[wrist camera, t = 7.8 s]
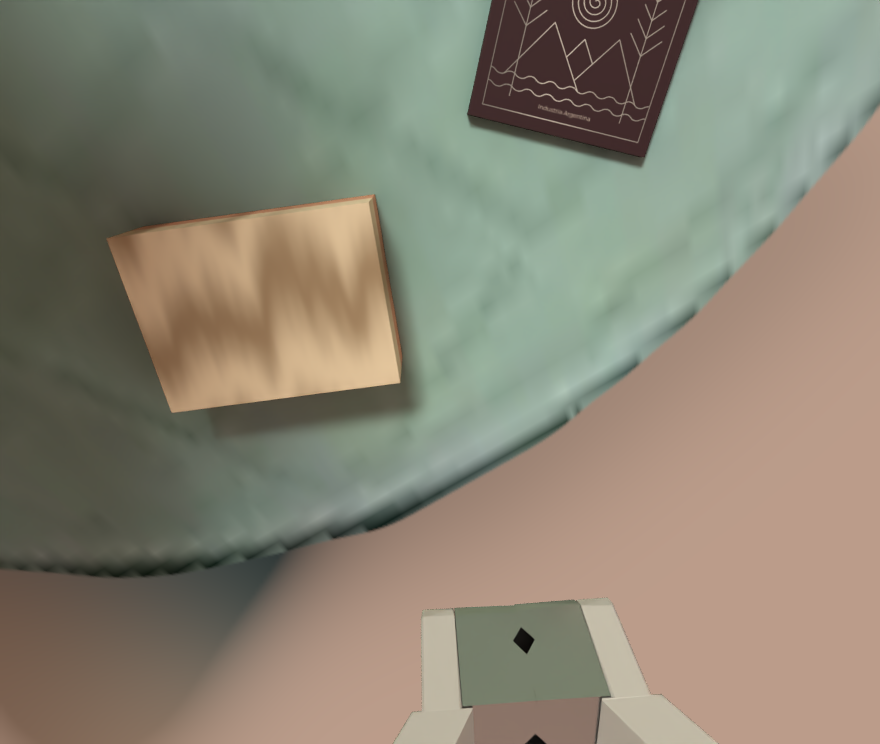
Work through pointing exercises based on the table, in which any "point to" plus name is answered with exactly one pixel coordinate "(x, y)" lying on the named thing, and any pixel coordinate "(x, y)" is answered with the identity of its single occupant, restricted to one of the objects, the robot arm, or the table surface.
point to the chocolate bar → (580, 67)
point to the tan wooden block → (264, 303)
